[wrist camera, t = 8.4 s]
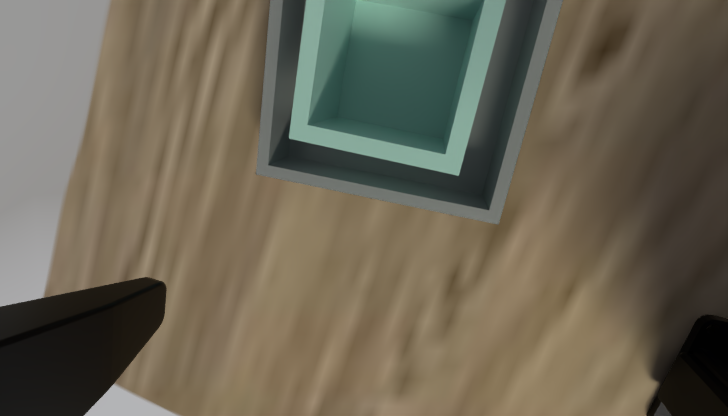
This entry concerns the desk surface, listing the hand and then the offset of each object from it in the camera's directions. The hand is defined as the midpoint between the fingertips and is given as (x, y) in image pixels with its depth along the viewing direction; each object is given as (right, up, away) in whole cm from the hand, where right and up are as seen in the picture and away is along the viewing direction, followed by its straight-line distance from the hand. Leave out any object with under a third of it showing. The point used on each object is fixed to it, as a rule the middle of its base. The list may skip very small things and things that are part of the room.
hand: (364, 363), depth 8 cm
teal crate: (+2, +9, +9) cm, 13 cm away
